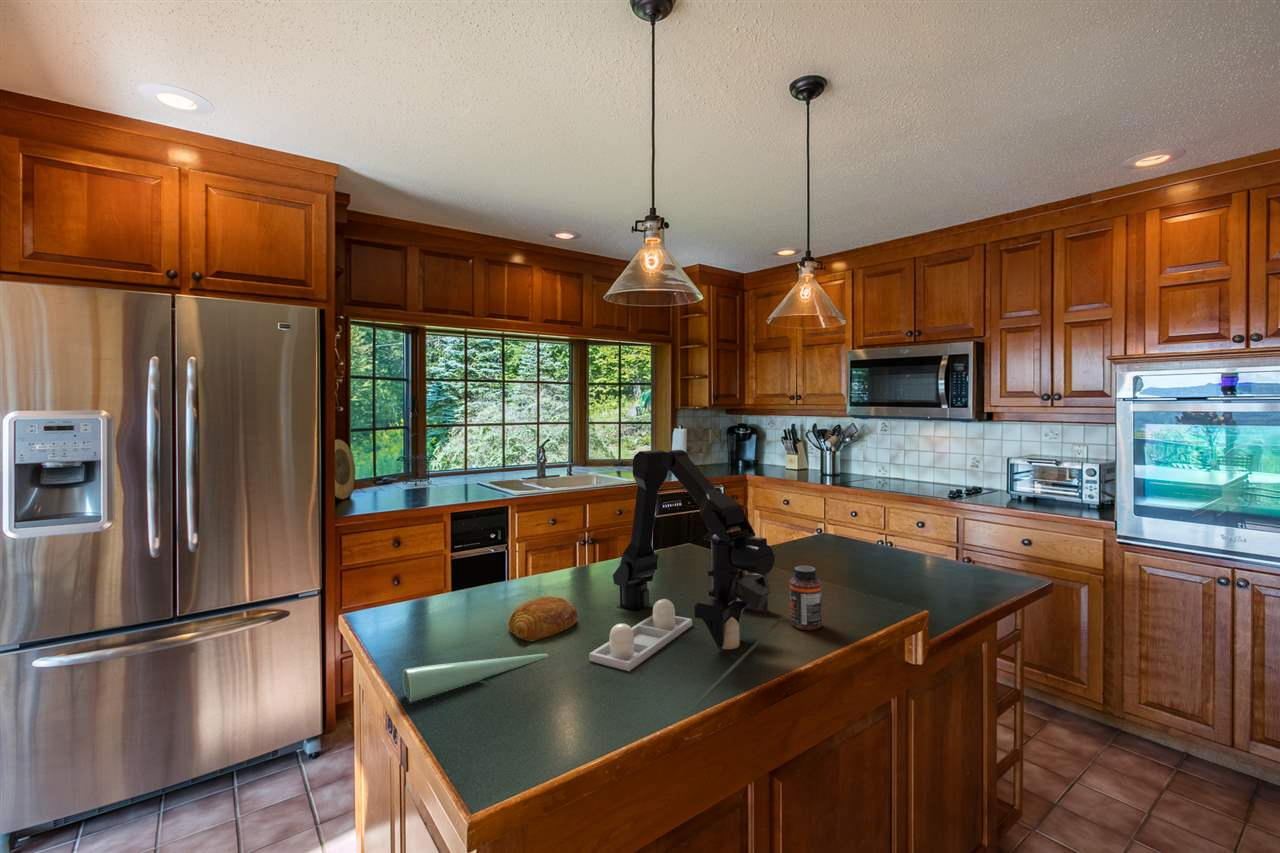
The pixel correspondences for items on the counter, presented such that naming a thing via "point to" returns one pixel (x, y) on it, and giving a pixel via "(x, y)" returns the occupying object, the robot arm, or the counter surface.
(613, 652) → the cream egg
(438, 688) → the long green cone
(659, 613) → the cream egg
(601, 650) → the egg carton
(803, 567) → the supplement bottle
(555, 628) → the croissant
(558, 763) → the counter surface
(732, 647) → the tan egg
